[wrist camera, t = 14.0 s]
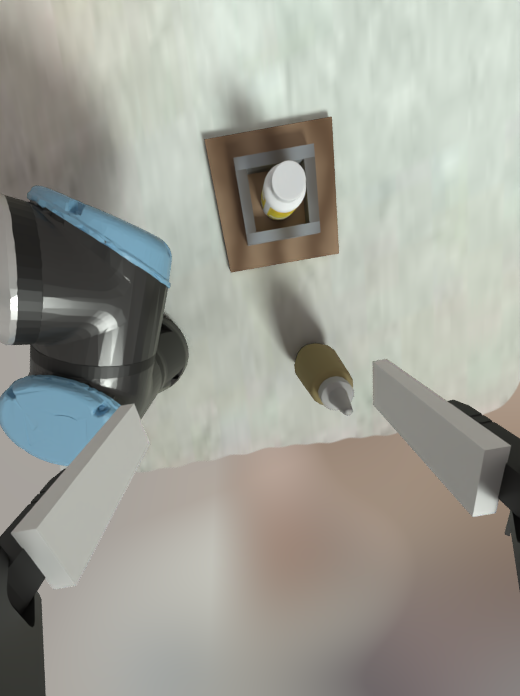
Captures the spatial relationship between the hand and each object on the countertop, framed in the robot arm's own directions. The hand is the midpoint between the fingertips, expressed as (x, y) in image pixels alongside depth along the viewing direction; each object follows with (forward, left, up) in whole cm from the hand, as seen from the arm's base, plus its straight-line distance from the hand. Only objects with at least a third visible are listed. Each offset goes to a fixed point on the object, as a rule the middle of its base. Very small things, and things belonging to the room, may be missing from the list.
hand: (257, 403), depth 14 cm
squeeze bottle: (+10, -12, -32) cm, 36 cm away
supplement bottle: (+7, +15, -31) cm, 35 cm away
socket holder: (+7, +15, -32) cm, 36 cm away
